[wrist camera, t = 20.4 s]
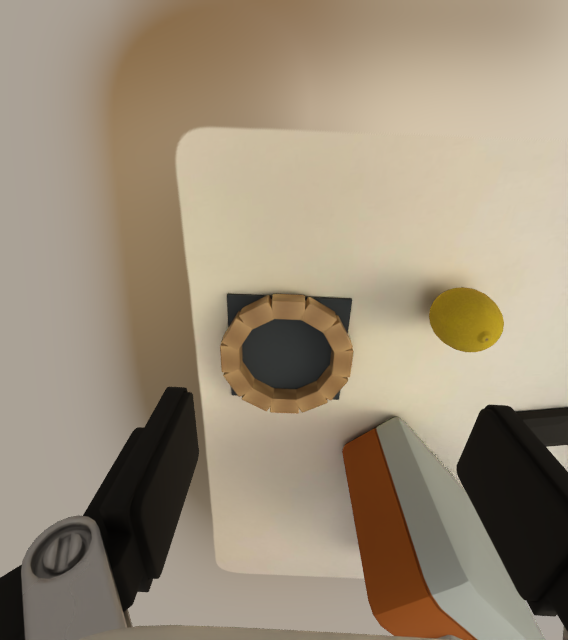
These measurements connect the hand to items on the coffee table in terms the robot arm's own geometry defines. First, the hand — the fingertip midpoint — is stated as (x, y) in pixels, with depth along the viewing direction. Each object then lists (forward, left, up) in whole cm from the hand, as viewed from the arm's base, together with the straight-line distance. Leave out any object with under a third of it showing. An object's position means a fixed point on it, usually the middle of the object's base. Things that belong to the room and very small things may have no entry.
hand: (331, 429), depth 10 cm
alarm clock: (+31, -8, -23) cm, 40 cm away
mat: (+7, -8, -23) cm, 26 cm away
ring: (+7, -8, -23) cm, 25 cm away
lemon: (+13, +8, -23) cm, 28 cm away
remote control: (+37, +12, -23) cm, 46 cm away
